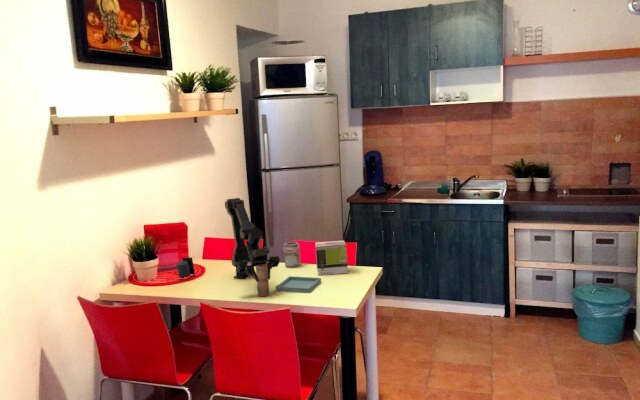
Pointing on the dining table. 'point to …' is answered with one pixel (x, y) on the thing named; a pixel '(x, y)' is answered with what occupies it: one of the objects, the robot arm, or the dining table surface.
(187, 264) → the speaker
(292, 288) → the tray
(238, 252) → the robot arm
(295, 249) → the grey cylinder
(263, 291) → the pepper mill
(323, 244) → the tea box
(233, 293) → the dining table surface
